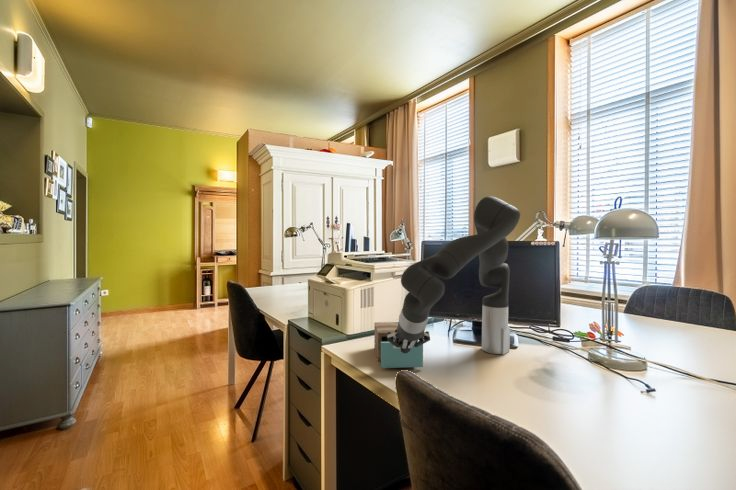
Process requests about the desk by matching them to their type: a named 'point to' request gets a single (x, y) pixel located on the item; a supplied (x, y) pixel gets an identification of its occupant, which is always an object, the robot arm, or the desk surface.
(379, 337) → the drawer box
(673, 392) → the desk surface
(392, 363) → the teal pull-out drawer
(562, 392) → the desk surface
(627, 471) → the desk surface
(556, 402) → the desk surface
